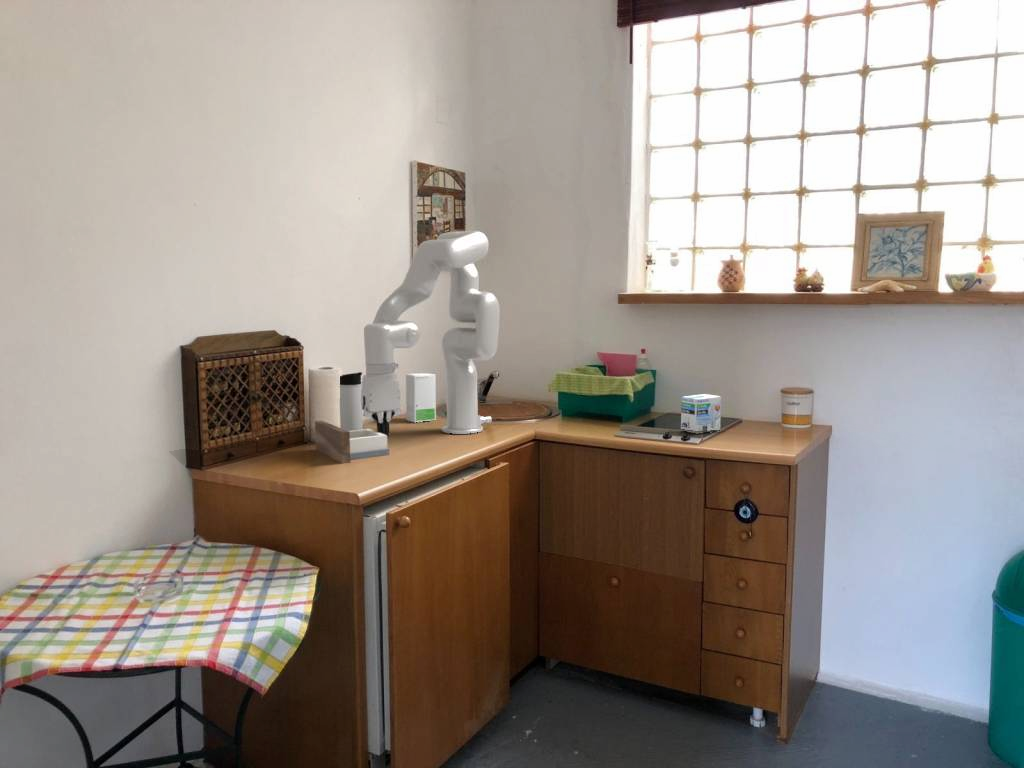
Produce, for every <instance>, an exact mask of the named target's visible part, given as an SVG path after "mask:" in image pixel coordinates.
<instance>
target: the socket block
mask: <svg viewBox="0 0 1024 768" xmlns="http://www.w3.org/2000/svg"><path fill="white" fill-rule="evenodd" d="M349 434H350V461H351V460H358V459H366V458H372V457H373V458H374V457H381V456H389V455H390V449H389V448H388V437H387V435H385V434H382V433H379V432H377V430H373V429H372V428H363V429H362V430H353V431H349Z"/></svg>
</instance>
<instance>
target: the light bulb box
mask: <svg viewBox="0 0 1024 768" xmlns="http://www.w3.org/2000/svg"><path fill="white" fill-rule="evenodd" d="M680 411H681V412H680V413H681V414H680V415H681V416H680V418H681V419H680V420H681V421H680V430H681V429H685V430H693V431H710V430H720V431H721V421H722V419H721V417H722V416H721V414H722V413H721V412H722V396H720V395H715V394H714V395H713V394H708V393H703V394H693V395H685V396H681V410H680Z"/></svg>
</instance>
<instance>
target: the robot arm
mask: <svg viewBox="0 0 1024 768" xmlns="http://www.w3.org/2000/svg"><path fill="white" fill-rule="evenodd" d="M436 237H437V238H435V239H429V240H424V241H423V242H421V243H420V244H419V245H417V248H416V251H415V253H414V254H413V257H412V260H411V262H410V266H409V267H408V270H407V273H406V274H405V277H404V280H403V281H402V284H400V285H399V286H398V287H397V288H396V289H395V290H394V291H393V292H392V293H391V294H390V295H389V296H388V297H386V299H384V301H383V302H382V303H381V304H380V306H379V308H378V310H377V312H376V314H375V317H374V319H373V321H372V323H369V324H366V325H365V326H364V328H363V338H364V339H363V341H364V355H365V356H364V359H365V375H362V379H361V380H362V381H361V389H362V390H361V407H362V411H363V412H362V417H363V418H369V419H373V420H374V421H375V422H376V431H377V432H379V433H382V434H385V435H387V438H389V436H390V435H389V433H390V422H391V421H392V418H393V417H394V416H395V415H397V414H399V413H401V412H402V409H401V406H402V395H401V386H400V383H399V378H398V374H397V372H396V369H399V366H400V365H399V363H395V361H394V359H395V357H394V350H395V349H410V348H412V347H414V346H416V345H417V343H418V342H419V340H420V337H421V332H420V329H419V327H418V326H417V325H416V324H415V323H413V322H411V321H409V320H398V319H399V318H400V317H401V315H402V314H403V313H405V312H406V311H407V310H409V309H410V308H412V307H414V306H416V305H418V304H420V303H423V302H425V301H426V300H428V299H429V298H430V297H431V295H432V294H433V290H434V289H435V286H436V283H437V281H438V278H439V276H440V273H441V271H443V270H444V271H445V270H448V271H449V274H450V275H449V277H450V287H449V288H450V290H449V292H450V293H449V303H448V305H449V307H448V309H449V310H448V311H449V317H450V318H451V320H452V321H454V322H455V323H461V324H475V327H453V328H450V329H448V330H447V331H446V332H445V333H444V334H443V336H442V341H441V347H442V353H443V357H444V364H445V388H446V389H445V391H446V393H445V394H446V395H445V396H446V398H445V399H446V402H445V403H446V406H445V407H446V425H443V426H442V427H441V431H442V433H445V434H450V433H452V435H469V434H470V433H471V434H478V433H480V432H483V430H484V426H483V424H485V423H486V424H487V423H492V419H493V418H492V417H491V416H489V415H487V416H481V415H480V414H478V413H479V412H478V411H479V410H478V407H479V406H478V405H479V404H478V403H479V401H478V371H477V367H476V365H475V363H474V361H488V360H491V359H493V358H494V356H495V355H496V353H497V351H498V343H499V333H500V332H499V331H500V319H501V317H500V316H501V314H500V313H501V310H500V304H499V301H498V298H497V296H495V295H494V294H493V293H492V292H489V291H480V289H479V287H480V286H479V285H480V283H479V282H480V281H479V279H480V277H479V272H478V269H477V267H476V266H475V264H474V263H476V262H479V261H481V260H482V259H484V258H485V257H486V255H487V254H488V252H489V246H490V245H489V243H490V242H489V239H488V237H487V235H486V234H485V233H484V232H482V231H479V230H465V231H461V230H460V231H448V232H444V233H441V234H439V235H438V236H436ZM477 432H478V433H477Z"/></svg>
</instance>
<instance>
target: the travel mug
mask: <svg viewBox="0 0 1024 768" xmlns="http://www.w3.org/2000/svg"><path fill="white" fill-rule="evenodd" d="M339 376H340V386H339V387H340V399H339V418H340V419H339V421H340V422H339V425H340V427H339V428H341V429H344V430H346V431H353V430H362V429H364V428H363V427H364V422H363V421H364V420H363V410H362V407H361V390H362V381H361V380H362V376H363V372H362V371H361V372H354V373H353V372H351V373H346V374H342V375H339Z"/></svg>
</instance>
